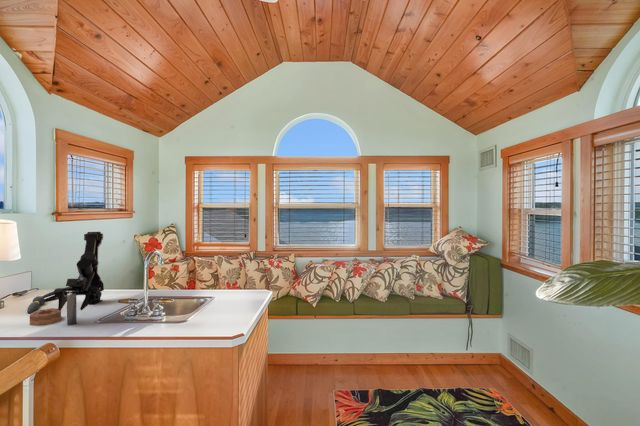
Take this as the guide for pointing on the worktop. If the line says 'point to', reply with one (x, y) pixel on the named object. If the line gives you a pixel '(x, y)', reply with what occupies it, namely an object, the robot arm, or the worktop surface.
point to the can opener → (53, 294)
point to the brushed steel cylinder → (71, 309)
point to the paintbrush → (35, 303)
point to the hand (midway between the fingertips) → (70, 310)
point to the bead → (45, 316)
